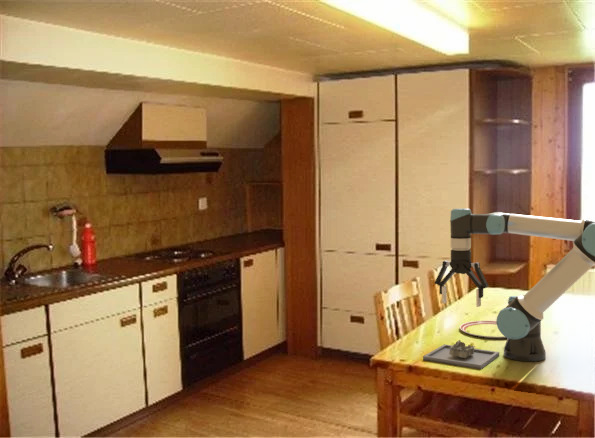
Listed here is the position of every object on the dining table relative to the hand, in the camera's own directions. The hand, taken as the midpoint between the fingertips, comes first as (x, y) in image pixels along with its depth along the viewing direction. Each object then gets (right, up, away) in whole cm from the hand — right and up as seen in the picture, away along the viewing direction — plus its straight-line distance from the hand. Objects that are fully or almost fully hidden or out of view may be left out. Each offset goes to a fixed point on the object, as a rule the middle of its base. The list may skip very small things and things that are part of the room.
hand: (461, 304), depth 237 cm
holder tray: (0, -21, +1) cm, 21 cm away
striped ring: (+23, -19, +37) cm, 48 cm away
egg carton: (-2, -21, +2) cm, 21 cm away
